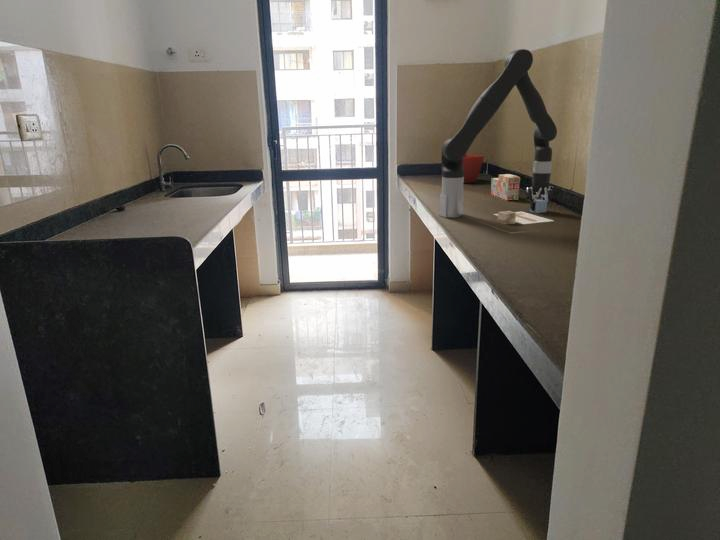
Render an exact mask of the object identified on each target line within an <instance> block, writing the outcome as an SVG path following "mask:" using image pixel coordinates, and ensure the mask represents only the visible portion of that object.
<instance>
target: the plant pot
mask: <svg viewBox="0 0 720 540" xmlns="http://www.w3.org/2000/svg"><path fill="white" fill-rule="evenodd" d="M484 158H485V155H478V154H467V153H466V154H465V156H464V157H463V170H464V183H463V184H467V183H476V182H477V181H478V178H479V176H480V173H481V172H480V171H481V169H482V167H483V166H482V165H483V162H484Z"/></svg>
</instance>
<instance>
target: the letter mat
mask: <svg viewBox="0 0 720 540" xmlns="http://www.w3.org/2000/svg"><path fill="white" fill-rule="evenodd" d="M513 212H514V211H513ZM514 213H516V220H515V223H519V224H522V225H528V224H537V223H549V222H554V220H553V219H550V218H546V217H542V216H538V215H535V214H531V213H527V212H526V211H515V212H514ZM492 215H494V216H497V217H498V213H493V214H492Z"/></svg>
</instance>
